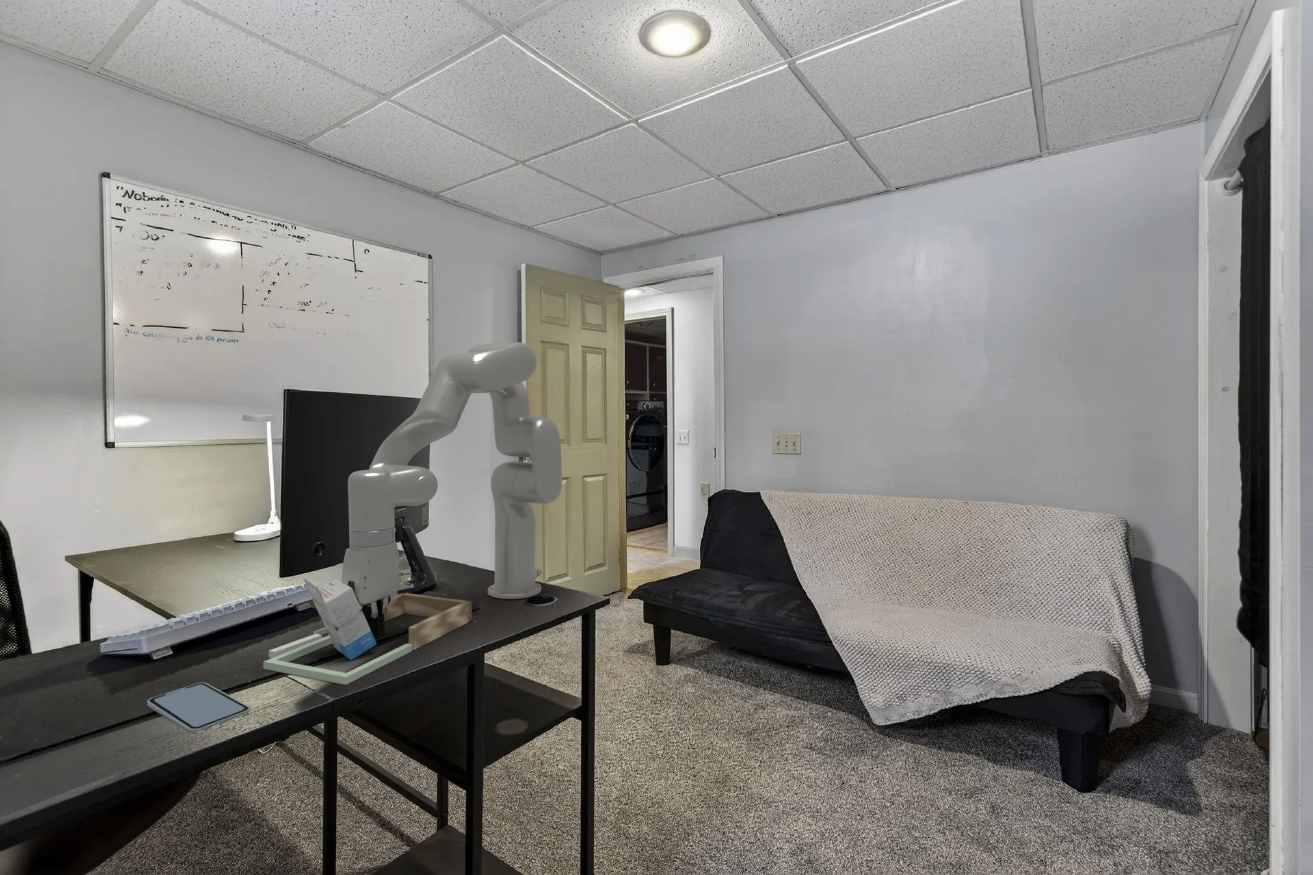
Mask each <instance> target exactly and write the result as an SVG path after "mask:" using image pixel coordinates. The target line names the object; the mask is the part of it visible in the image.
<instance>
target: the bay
mask: <svg viewBox="0 0 1313 875" xmlns="http://www.w3.org/2000/svg"><path fill="white" fill-rule="evenodd" d="M331 644H332V645H333V642H332V640H331V638H330V636H329V635H326V636H324V637H322V638H321V639H319V640H316V641H314V642H311V643H309V644H306V645H304V646H301V647H299V648H296V649H294V650H291V651H289V652H286V653H284V654H281V655H279V656H276V657H274V658H268V659H267V660H264V661H262V662H263V663H262V666H263V668H262V669H263V670H267V671H273V672H277V673H284V674H289V675H293V676H298V677H304V678H310V679H314V680H318V681H324V682H330V683H334V684H335V683H336V684H340V685H345V686H347V685H349V684H350V683H352V682H355V681H356V680H358V679H360V678H363V677H364V676H366V675H368V674H371V673H372V672H374V671H376V670H377V669H378V670H379V669H380V668H381V667H383V666H386V665H388V664H389V663H391V662H394V661H395V660H397V659H400V658H401V657H403V656H405V655H407V654H409V653H412V652H413V650H412V644H409V643H405V644H402V645H401V646H399V647H397V648H394V649H392V650H391V651H388V652H387V653H384V654H382V655H381V656H379V657H376V658H374V659H372V660H369V661H368V662H366V663H364V664H362V665H360V666H358V667H356V668H354V669H352V670H350V671H348V672H342V671H338V670H331V669H325V668H321V667H315V666H312V665H311V666H310V665H305V664H298V663H293V662H291V661H293V660H296V659H298V658H301V657H302V656H305V655H308V654H310V653H312V652H315V651H317V650H320V649H322V648H325V647H327V646H329V645H331Z"/></svg>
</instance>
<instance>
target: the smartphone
mask: <svg viewBox="0 0 1313 875" xmlns="http://www.w3.org/2000/svg"><path fill="white" fill-rule="evenodd" d="M146 703H147V704H146V706H147V707H148V708H150V709H151V710H153V711H155V712H156V713H158V714H159V715H161V716H163V717H165V718H166V719H168V720H170V721H172V722H173V723H175V724H176V725H178V726H180V727H181V728H183V729H185V730H186V731H187V732H190V733H194V732H195V733H196V732H200V731H203V730H207V729H208V728H211V727H214V726H216V725H219V724H222V723H224V722H227V721H230V720H232V719H235V718H239V717H240V716H243V715H246V714H248V713H250V712H251V706H249V705H248V704H245V703H243V702H242V701H240V700H238V699H236V698H234V697H233V696H231V695H229V694H227V693H225V692H223V691H221V690H220V689H218V688H216V687H215V686H213V685H211V684H210V683H209V684H208V683H207V682H197V683H194V684H190V685H188V686H185V687H182V688H179V689H175V690H172V691H169V692H165V693H163V694H159V695H156V696H154V697H151V698H149V699H148V700H147V701H146Z"/></svg>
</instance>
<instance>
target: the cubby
mask: <svg viewBox="0 0 1313 875" xmlns="http://www.w3.org/2000/svg"><path fill="white" fill-rule="evenodd" d="M472 602H473V601H470V600H463V599H456V598H447V597H439V596H432V595H431V596H430V595H423V594H415V593H407V592H401V593H399V594H398V595H397V596H396V597H395V598H393V599H392V600H390V602H389V604H388V608H387V612H386V613H385V614H384V618H385V622H387V621H389V620H392V619H394V618H397V617H398V616H402V615H403V614H406V615H412V616H419V617H427V618H426V619H424V620H421V621H419V622H417V623H415V624H413V625H410V626H409V627H408V644H412V651H415V650H417V649H419V648H421V647H423V646H424V645H427V644H429V643H430V642H432V641H435V640H437V639H439V638H441V637H442V636H445V635H447V634H448V633H450V632H452V631H454V630H457V629H458V628H460V627H462V626H464V625H466V624H468V623H470V622H472V620H473V619H472V618H473V616H472V615H473V613H472V612H473V610H472V606H473V604H472Z"/></svg>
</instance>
